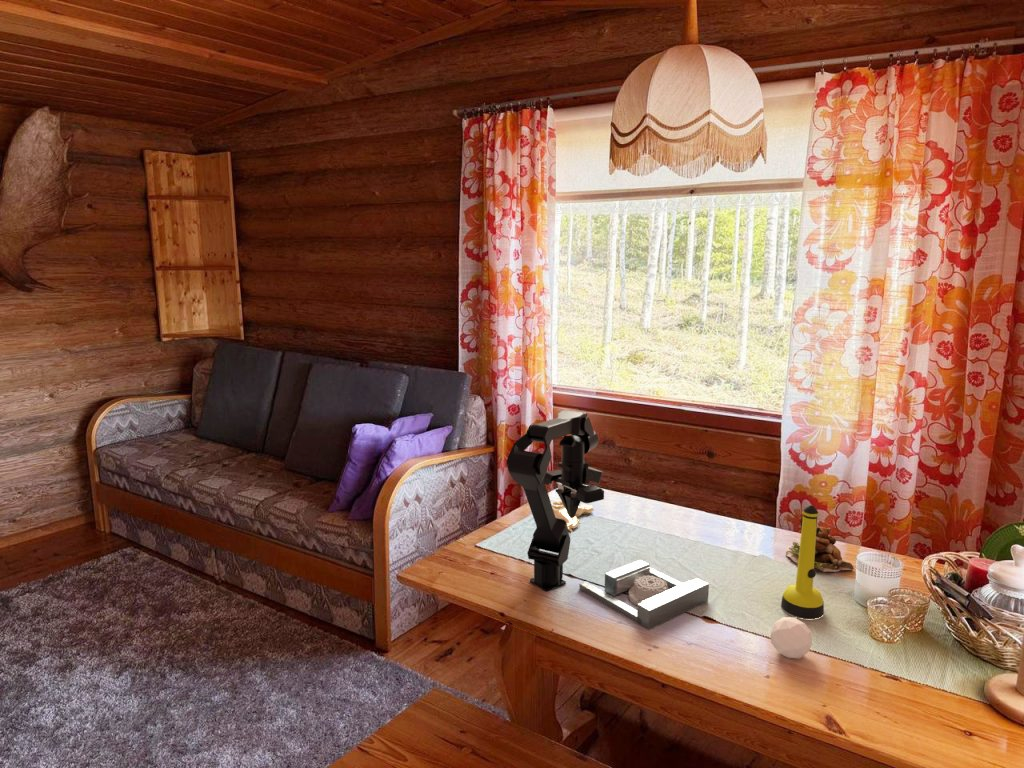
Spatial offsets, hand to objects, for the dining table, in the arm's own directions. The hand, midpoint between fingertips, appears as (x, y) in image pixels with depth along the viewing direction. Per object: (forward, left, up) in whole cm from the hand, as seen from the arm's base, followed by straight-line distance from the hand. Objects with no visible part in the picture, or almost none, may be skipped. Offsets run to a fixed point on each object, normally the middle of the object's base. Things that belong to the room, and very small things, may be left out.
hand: (571, 517), depth 175 cm
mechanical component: (+2, -26, -13) cm, 29 cm away
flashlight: (+25, -50, -12) cm, 57 cm away
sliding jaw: (+1, -19, -12) cm, 22 cm away
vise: (+1, -23, -12) cm, 26 cm away
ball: (+7, -58, -12) cm, 59 cm away
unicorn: (+19, +22, -13) cm, 31 cm away
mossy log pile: (+51, -39, -13) cm, 66 cm away
